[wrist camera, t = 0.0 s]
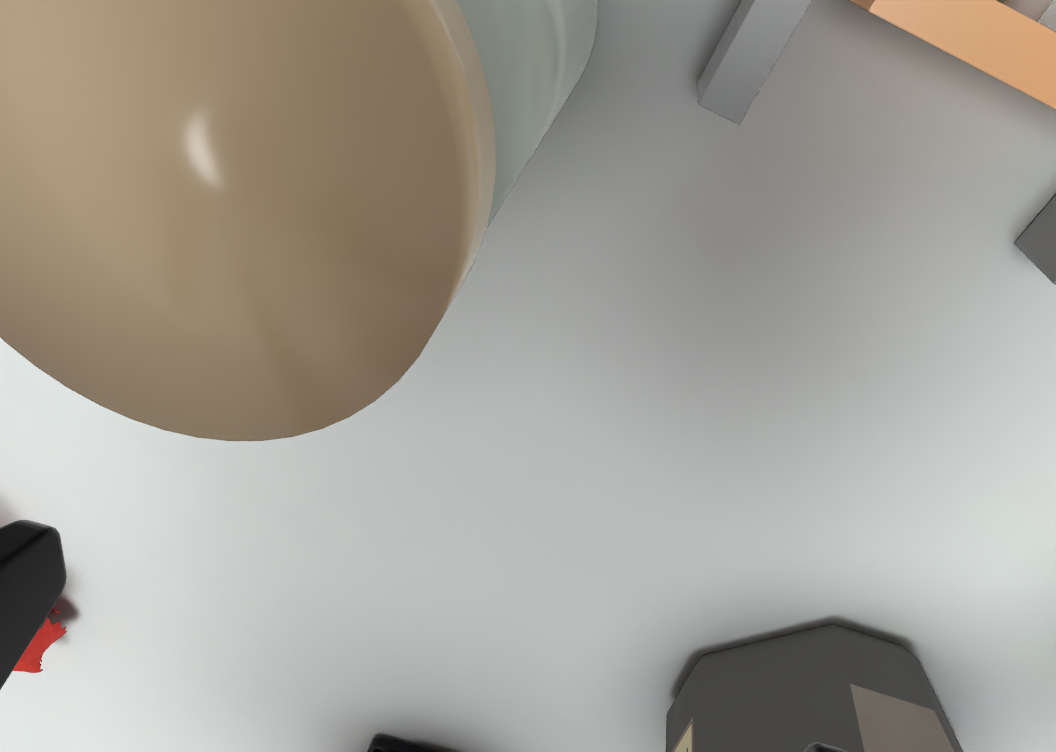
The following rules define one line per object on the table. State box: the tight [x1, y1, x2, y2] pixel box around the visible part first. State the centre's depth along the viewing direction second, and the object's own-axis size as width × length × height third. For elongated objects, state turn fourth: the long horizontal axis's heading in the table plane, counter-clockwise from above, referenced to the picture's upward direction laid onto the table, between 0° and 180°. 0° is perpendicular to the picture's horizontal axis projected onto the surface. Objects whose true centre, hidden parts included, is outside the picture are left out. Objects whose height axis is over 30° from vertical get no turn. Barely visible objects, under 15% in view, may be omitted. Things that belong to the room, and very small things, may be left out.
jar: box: [0, 0, 598, 441], centre depth 13 cm, size 6×6×14 cm
